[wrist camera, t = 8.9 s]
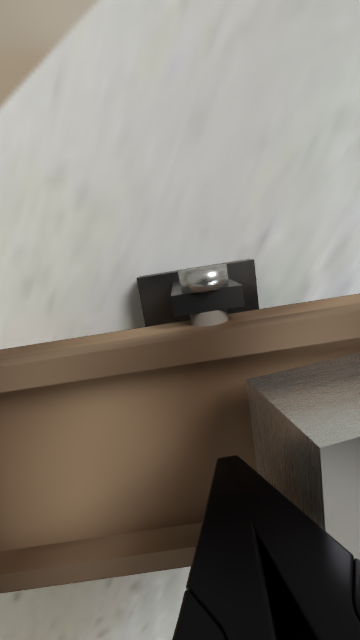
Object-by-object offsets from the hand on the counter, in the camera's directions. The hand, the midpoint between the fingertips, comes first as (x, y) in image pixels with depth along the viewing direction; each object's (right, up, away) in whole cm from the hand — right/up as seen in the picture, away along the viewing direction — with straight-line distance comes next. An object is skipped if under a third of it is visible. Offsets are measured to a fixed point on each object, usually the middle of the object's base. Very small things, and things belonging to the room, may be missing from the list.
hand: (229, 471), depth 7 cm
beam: (0, +1, +5) cm, 5 cm away
